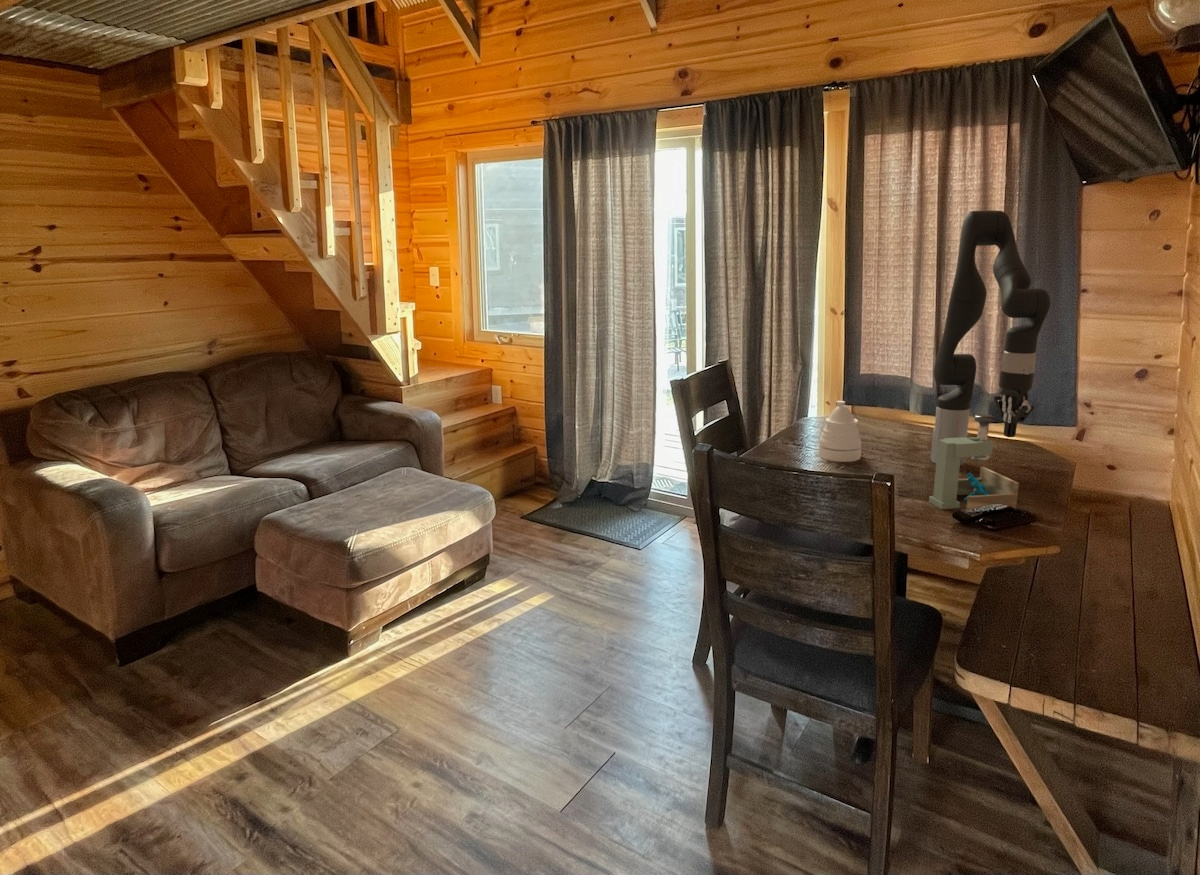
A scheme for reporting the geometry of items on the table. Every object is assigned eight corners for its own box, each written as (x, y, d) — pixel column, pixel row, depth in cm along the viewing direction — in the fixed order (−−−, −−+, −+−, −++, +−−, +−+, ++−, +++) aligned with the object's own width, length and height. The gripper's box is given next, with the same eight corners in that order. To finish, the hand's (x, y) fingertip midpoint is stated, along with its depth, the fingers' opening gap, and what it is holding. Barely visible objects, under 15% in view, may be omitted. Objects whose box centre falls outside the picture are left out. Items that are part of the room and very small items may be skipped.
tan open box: (936, 494, 214) (938, 469, 213) (981, 491, 216) (984, 467, 214) (968, 512, 201) (970, 485, 199) (1015, 509, 202) (1018, 482, 201)
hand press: (928, 501, 210) (934, 438, 206) (973, 498, 212) (980, 436, 207) (941, 509, 204) (947, 444, 200) (987, 506, 206) (994, 442, 202)
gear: (997, 505, 202) (969, 473, 204) (976, 518, 204) (949, 487, 207) (999, 498, 211) (973, 468, 214) (980, 511, 214) (954, 482, 216)
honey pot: (853, 464, 245) (857, 406, 240) (812, 458, 252) (815, 402, 247) (865, 454, 255) (869, 398, 251) (825, 449, 262) (828, 394, 258)
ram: (966, 456, 207) (971, 414, 205) (982, 456, 208) (987, 413, 205) (977, 461, 203) (981, 418, 200) (993, 460, 204) (997, 417, 201)
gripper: (987, 365, 207) (980, 430, 211) (1020, 374, 194) (1012, 444, 198) (1014, 364, 208) (1006, 429, 212) (1049, 373, 195) (1039, 442, 199)
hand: (1009, 436), depth 205 cm, fingers closed
